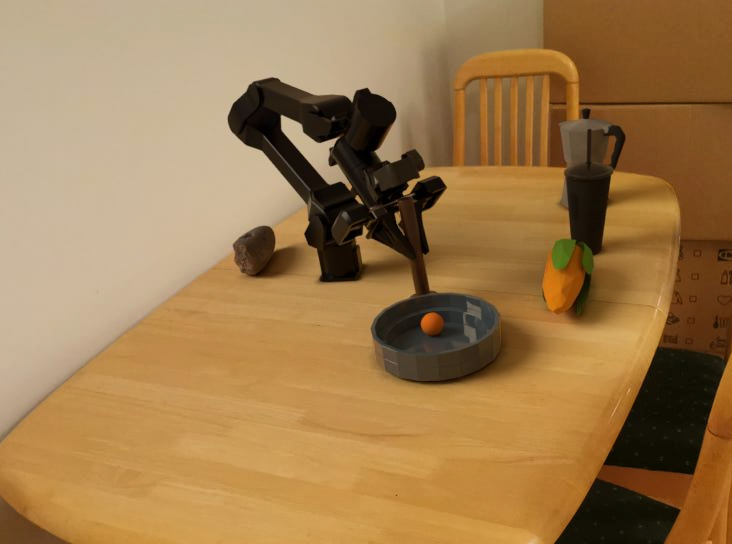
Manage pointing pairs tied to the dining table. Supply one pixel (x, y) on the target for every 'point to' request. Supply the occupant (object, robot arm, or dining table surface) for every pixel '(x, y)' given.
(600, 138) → the coffeepot
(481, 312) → the bowl
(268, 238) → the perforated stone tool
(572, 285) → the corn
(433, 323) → the ball
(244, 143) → the robot arm
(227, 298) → the dining table surface
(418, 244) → the stirring stick
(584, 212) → the drinking cup
